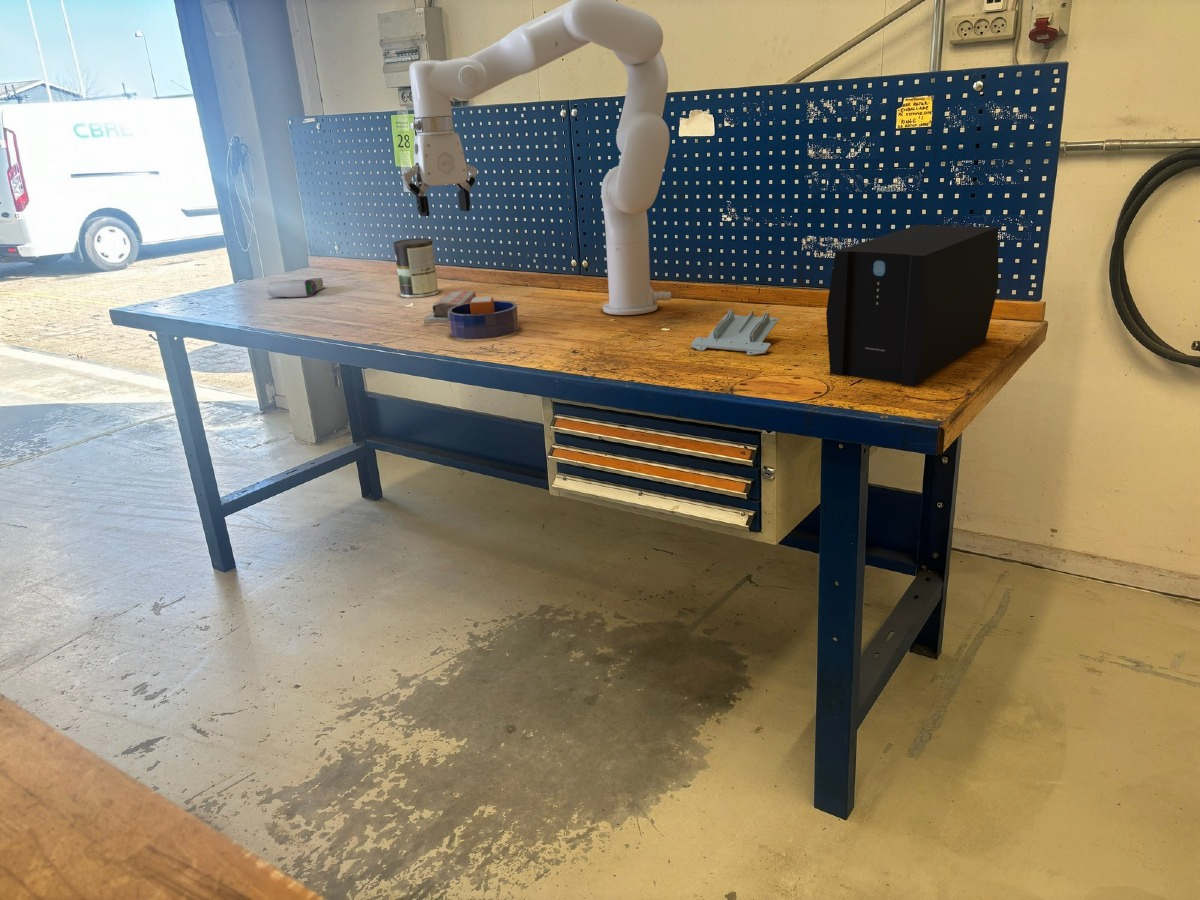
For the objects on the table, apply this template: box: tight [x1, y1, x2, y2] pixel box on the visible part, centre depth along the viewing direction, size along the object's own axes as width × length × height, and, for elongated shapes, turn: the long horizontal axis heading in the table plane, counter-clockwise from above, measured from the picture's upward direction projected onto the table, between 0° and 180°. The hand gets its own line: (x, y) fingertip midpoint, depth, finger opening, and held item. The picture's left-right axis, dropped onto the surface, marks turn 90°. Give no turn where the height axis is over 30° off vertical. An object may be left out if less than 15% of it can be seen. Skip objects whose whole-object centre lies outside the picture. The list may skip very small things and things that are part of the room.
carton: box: [470, 296, 495, 315], centre depth 181 cm, size 4×5×7 cm
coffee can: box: [392, 237, 439, 299], centre depth 227 cm, size 10×10×14 cm
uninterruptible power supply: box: [825, 224, 999, 387], centre depth 144 cm, size 16×34×20 cm, turn 139°
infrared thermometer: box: [265, 277, 324, 298], centre depth 241 cm, size 5×12×15 cm
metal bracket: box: [690, 309, 780, 356], centre depth 161 cm, size 14×6×15 cm
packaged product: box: [423, 289, 477, 324], centre depth 199 cm, size 18×5×10 cm
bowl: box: [448, 300, 520, 340], centre depth 181 cm, size 15×15×6 cm
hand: (445, 213), depth 180 cm, fingers open, 9 cm apart
